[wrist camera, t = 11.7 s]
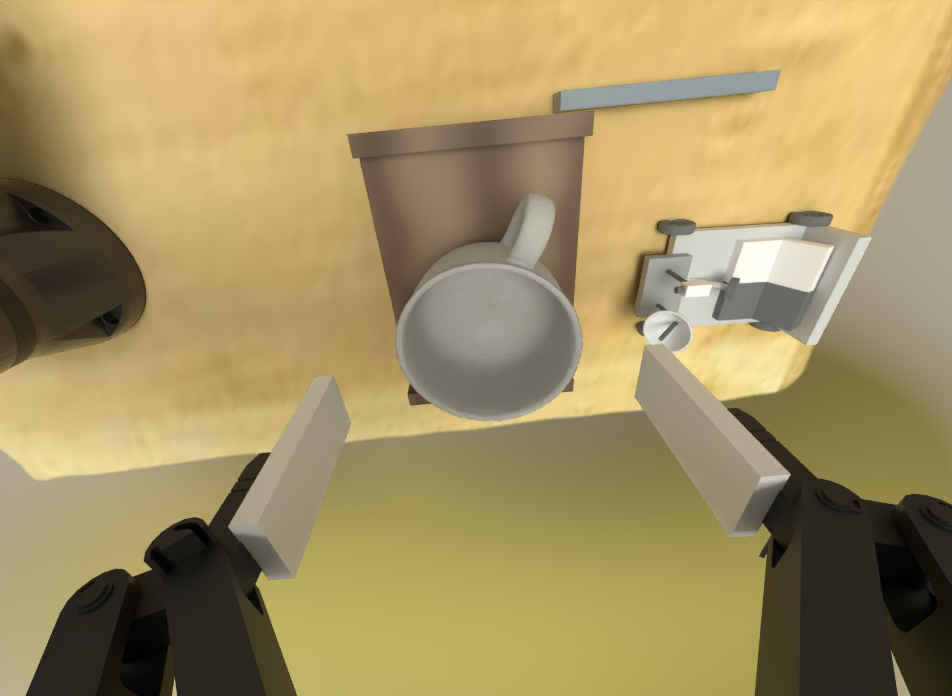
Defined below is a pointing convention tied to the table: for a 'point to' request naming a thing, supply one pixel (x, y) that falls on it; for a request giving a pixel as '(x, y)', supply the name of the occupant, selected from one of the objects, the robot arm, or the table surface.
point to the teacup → (492, 325)
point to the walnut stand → (470, 192)
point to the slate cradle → (665, 91)
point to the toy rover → (747, 278)
